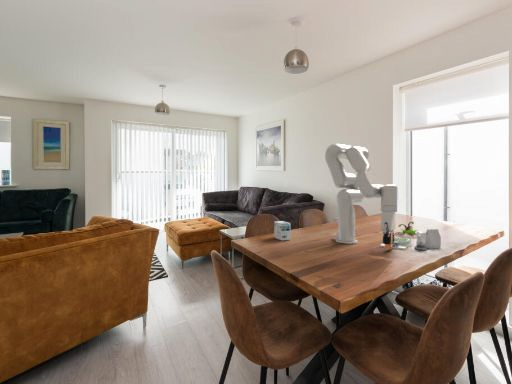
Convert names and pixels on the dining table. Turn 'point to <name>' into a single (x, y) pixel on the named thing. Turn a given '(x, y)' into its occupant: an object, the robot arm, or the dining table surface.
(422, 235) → the grey rounded piece
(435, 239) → the grey white box
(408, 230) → the plant
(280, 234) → the light bulb box
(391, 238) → the pin
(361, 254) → the dining table surface
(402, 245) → the dock
